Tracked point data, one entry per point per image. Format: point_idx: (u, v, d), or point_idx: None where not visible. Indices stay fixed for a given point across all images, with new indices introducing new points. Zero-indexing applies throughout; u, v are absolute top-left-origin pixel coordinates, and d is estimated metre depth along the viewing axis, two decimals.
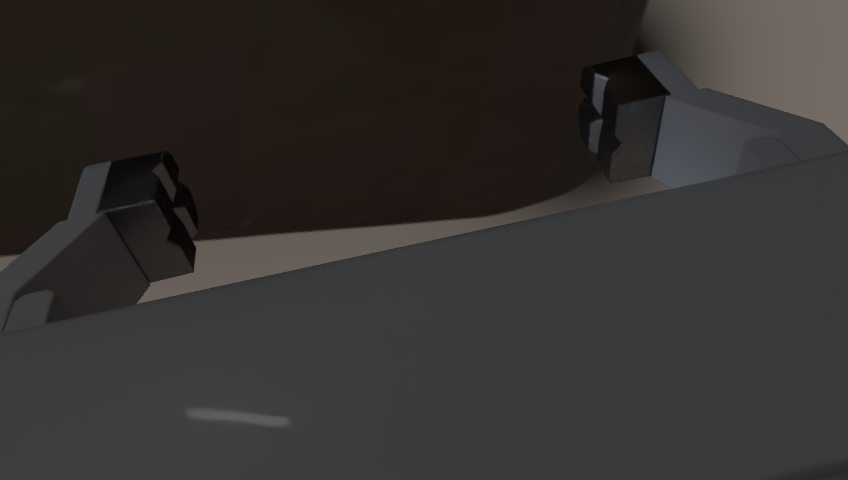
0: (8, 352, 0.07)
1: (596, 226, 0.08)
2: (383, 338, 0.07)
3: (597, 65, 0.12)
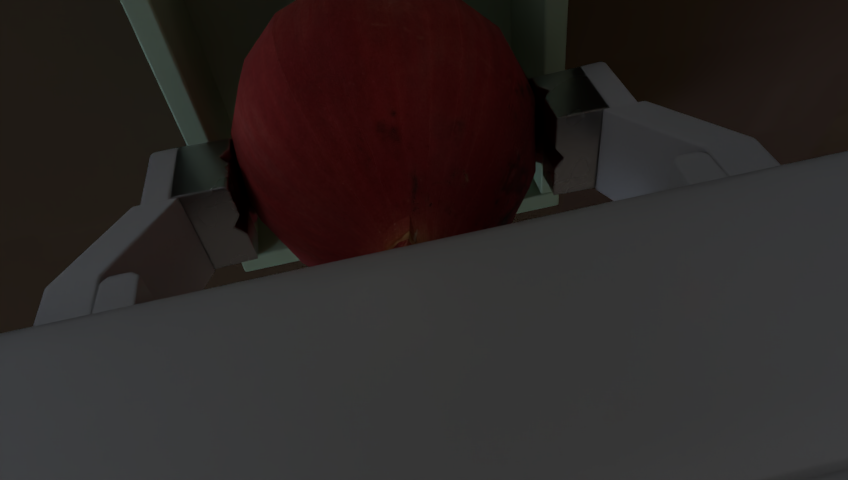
0: (8, 352, 0.07)
1: (596, 226, 0.08)
2: (383, 338, 0.07)
3: (540, 77, 0.12)
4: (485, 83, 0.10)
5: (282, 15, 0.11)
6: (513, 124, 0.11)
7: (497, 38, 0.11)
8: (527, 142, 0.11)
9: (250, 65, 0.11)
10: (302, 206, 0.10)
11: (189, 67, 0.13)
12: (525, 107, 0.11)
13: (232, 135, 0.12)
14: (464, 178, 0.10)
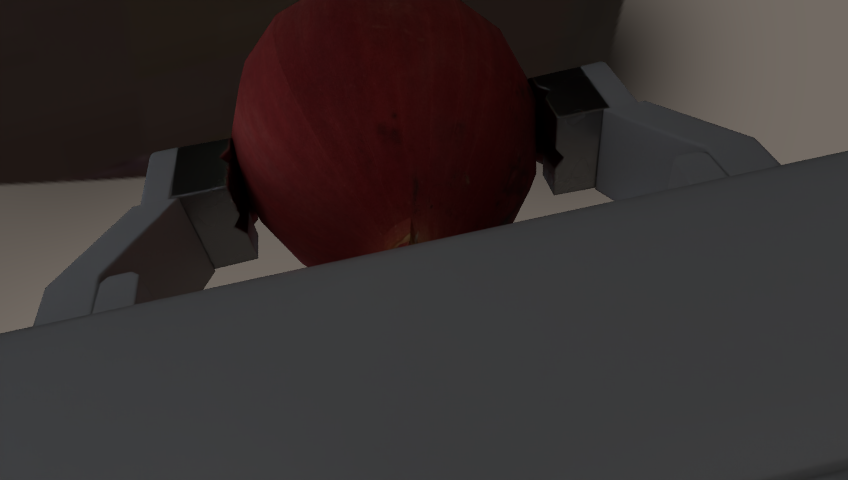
0: (8, 352, 0.07)
1: (596, 226, 0.08)
2: (383, 338, 0.07)
3: (540, 76, 0.12)
4: (486, 86, 0.10)
5: (283, 17, 0.11)
6: (514, 126, 0.11)
7: (497, 40, 0.11)
8: (528, 143, 0.11)
9: (251, 67, 0.11)
10: (303, 208, 0.10)
11: None
12: (525, 109, 0.11)
13: (233, 137, 0.12)
14: (464, 181, 0.10)
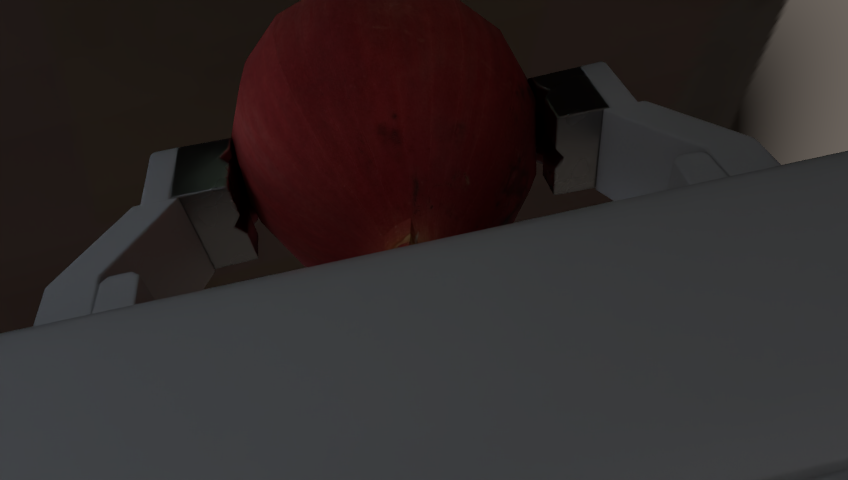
0: (8, 352, 0.07)
1: (596, 226, 0.08)
2: (383, 338, 0.07)
3: (540, 77, 0.12)
4: (486, 86, 0.10)
5: (283, 17, 0.11)
6: (514, 126, 0.11)
7: (498, 40, 0.11)
8: (528, 144, 0.11)
9: (251, 67, 0.11)
10: (303, 208, 0.10)
11: None
12: (525, 109, 0.11)
13: (233, 137, 0.12)
14: (464, 181, 0.10)
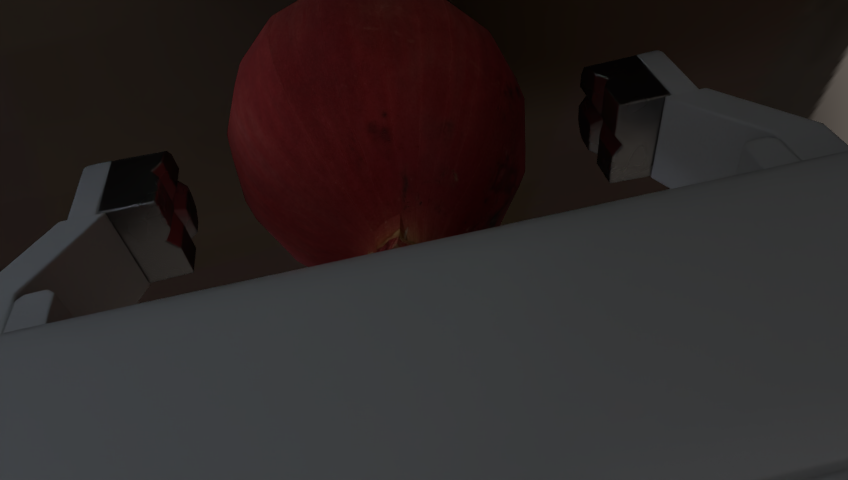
0: (8, 352, 0.07)
1: (596, 226, 0.08)
2: (383, 338, 0.07)
3: (597, 65, 0.12)
4: (475, 86, 0.11)
5: (277, 19, 0.11)
6: (502, 125, 0.11)
7: (486, 41, 0.11)
8: (516, 142, 0.12)
9: (246, 67, 0.11)
10: (295, 205, 0.11)
11: None
12: (513, 109, 0.12)
13: (228, 136, 0.12)
14: (453, 178, 0.10)
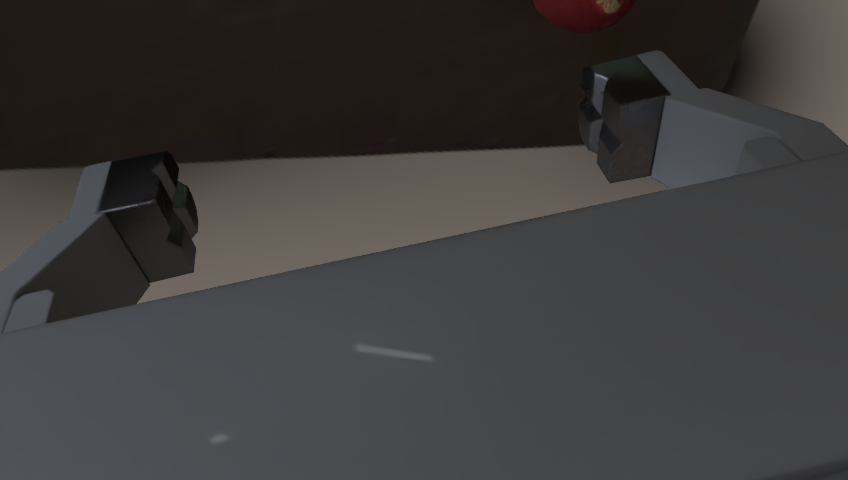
0: (8, 352, 0.07)
1: (596, 226, 0.08)
2: (383, 338, 0.07)
3: (597, 65, 0.12)
4: None
5: None
6: None
7: None
8: None
9: None
10: None
11: None
12: None
13: None
14: None
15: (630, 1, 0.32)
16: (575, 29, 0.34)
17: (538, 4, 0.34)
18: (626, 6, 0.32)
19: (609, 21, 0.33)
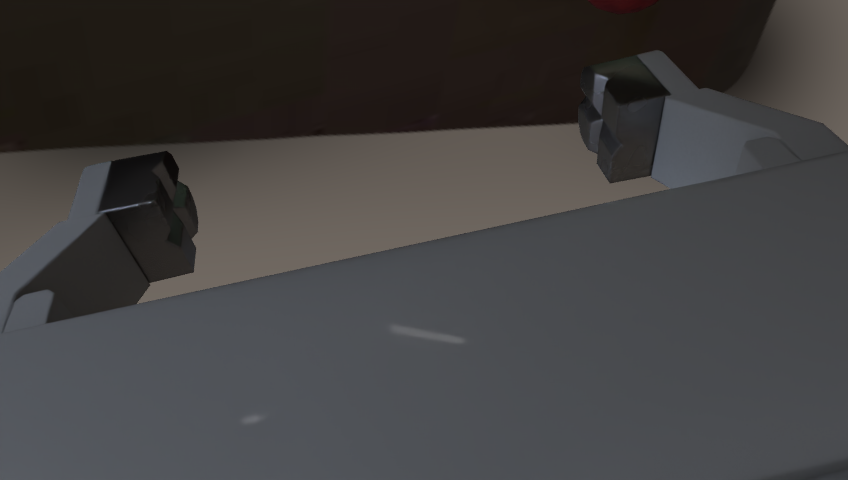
0: (8, 352, 0.07)
1: (596, 226, 0.08)
2: (383, 338, 0.07)
3: (597, 65, 0.12)
4: None
5: None
6: None
7: None
8: None
9: None
10: None
11: None
12: None
13: None
14: None
15: None
16: (616, 10, 0.36)
17: None
18: None
19: (649, 2, 0.35)
